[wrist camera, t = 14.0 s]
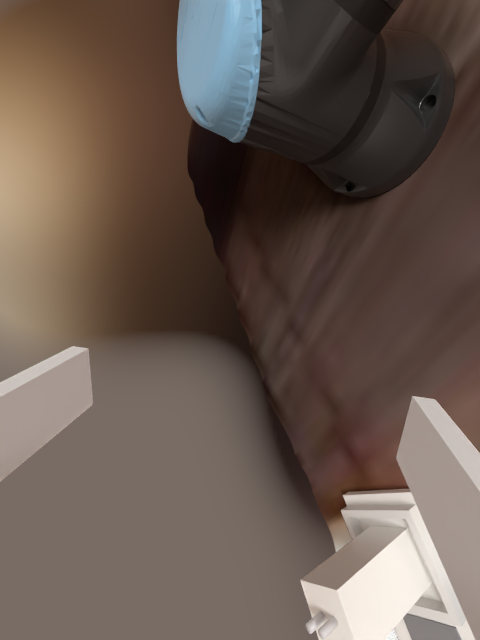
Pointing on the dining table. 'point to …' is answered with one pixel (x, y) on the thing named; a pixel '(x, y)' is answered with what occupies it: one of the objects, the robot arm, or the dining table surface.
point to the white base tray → (439, 599)
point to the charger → (366, 586)
